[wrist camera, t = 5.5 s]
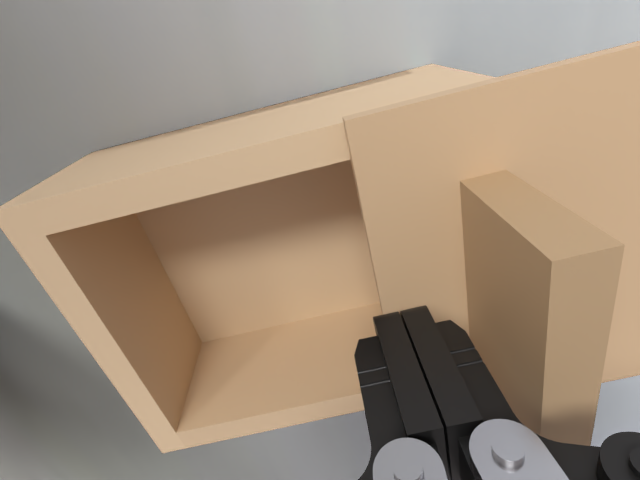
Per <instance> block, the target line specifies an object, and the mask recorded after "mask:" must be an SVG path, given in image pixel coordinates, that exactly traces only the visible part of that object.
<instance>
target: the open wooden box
mask: <svg viewBox="0 0 640 480" xmlns="http://www.w3.org/2000/svg"><path fill="white" fill-rule="evenodd" d="M492 78H496V77H492V76H487V75H482V74H477V73H473V72H468V71H463V70H459V69H454V68H449V67H444V66H440V65H435V64H429V65H425V66H421V67H418V68H414V69H410V70H406V71H402V72H398V73H394V74H391V75H387V76H383V77H379V78H375V79H371V80H368V81H364V82H360V83H356V84H352V85H348V86H344V87H341V88H337V89H333V90H329V91H325V92H321V93H318V94H314V95H310V96H306V97H302V98H298V99H295V100H291V101H287V102H283V103H279V104H275V105H271V106H268V107H264V108H260V109H256V110H252V111H248V112H245V113H241V114H237V115H233V116H229V117H225V118H222V119H218V120H214V121H210V122H206V123H202V124H198V125H195V126H191V127H187V128H183V129H179V130H175V131H172V132H168V133H164V134H160V135H156V136H152V137H148V138H145V139H141V140H137V141H133V142H129V143H125V144H122V145H118V146H114V147H110V148H106V149H102V150H99V151H95V152H91V153H90V154H88V155H86V156H85V157H83V158H81V159H79V160H78V161H76V162H74V163H73V164H71V165H69V166H68V167H66V168H64V169H63V170H61V171H59V172H57V173H56V174H54V175H52V176H51V177H49V178H47V179H46V180H44V181H42V182H40V183H39V184H37V185H35V186H34V187H32V188H30V189H29V190H27V191H25V192H24V193H22V194H20V195H18V196H17V197H15V198H13V199H12V200H10V201H8V202H7V203H5V204H3V205H2V206H0V228H1V229H2V231H3V232H4V233H5V235H6V236H7V238H8V239H9V240H10V242H11V243H12V244H13V246H14V247H15V249H16V250H17V251H18V253H19V254H20V256H21V257H22V258H23V260H24V261H25V263H26V264H27V265H28V267H29V268H30V270H31V271H32V272H33V274H34V275H35V277H36V278H37V279H38V281H39V282H40V283H41V285H42V286H43V288H44V289H45V290H46V292H47V293H48V295H49V296H50V297H51V299H52V300H53V302H54V303H55V304H56V306H57V307H58V309H59V310H60V311H61V313H62V314H63V315H64V317H65V318H66V320H67V321H68V322H69V324H70V325H71V327H72V328H73V329H74V331H75V332H76V334H77V335H78V336H79V338H80V339H81V341H82V342H83V343H84V345H85V346H86V347H87V349H88V350H89V352H90V353H91V354H92V356H93V357H94V359H95V360H96V361H97V363H98V364H99V366H100V367H101V368H102V370H103V371H104V373H105V374H106V375H107V377H108V378H109V380H110V381H111V382H112V384H113V385H114V386H115V388H116V389H117V391H118V392H119V393H120V395H121V396H122V398H123V399H124V400H125V402H126V403H127V405H128V406H129V407H130V409H131V410H132V412H133V413H134V414H135V416H136V417H137V418H138V420H139V421H140V423H141V424H142V425H143V427H144V428H145V430H146V431H147V432H148V434H149V435H150V437H151V438H152V439H153V441H154V442H155V444H156V445H157V446H158V448H159V449H160V450H161V452H162V453H166V452H171V451H176V450H180V449H185V448H190V447H194V446H199V445H204V444H209V443H213V442H218V441H223V440H227V439H232V438H237V437H241V436H246V435H251V434H255V433H260V432H265V431H269V430H274V429H279V428H283V427H288V426H293V425H297V424H302V423H307V422H312V421H316V420H321V419H326V418H330V417H335V416H340V415H344V414H349V413H354V412H358V411H363V410H365V409H364V404H363V399H362V394H361V388H360V383H359V378H358V373H357V368H356V363H355V358H354V354H355V350H356V347H357V344H358V340H359V339H364V338H368V337H373V336H376V332H375V327H374V322H373V317H374V316H379V315H382V312H381V307H380V302H379V297H378V292H377V287H376V282H375V277H374V272H373V267H372V262H371V258H370V253H369V248H368V243H367V238H366V233H365V228H364V223H363V218H362V213H361V208H360V203H359V198H358V193H357V188H356V183H355V178H354V173H353V168H352V163H351V158H350V153H349V149H348V144H347V139H346V134H345V129H344V124H343V119H342V117H344V116H348V115H352V114H355V113H359V112H363V111H367V110H371V109H375V108H379V107H383V106H387V105H391V104H395V103H398V102H402V101H406V100H410V99H414V98H418V97H422V96H426V95H430V94H434V93H438V92H441V91H445V90H449V89H453V88H457V87H461V86H465V85H469V84H473V83H477V82H480V81H484V80H488V79H492Z"/></svg>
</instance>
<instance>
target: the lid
mask: <svg viewBox="0 0 640 480" xmlns="http://www.w3.org/2000/svg"><path fill="white" fill-rule="evenodd" d="M342 119H343V124H344V129H345V134H346V139H347V144H348V149H349V153H350V158H351V163H352V168H353V173H354V178H355V183H356V188H357V193H358V198H359V203H360V208H361V213H362V218H363V223H364V228H365V233H366V238H367V243H368V248H369V253H370V258H371V262H372V267H373V272H374V277H375V282H376V287H377V292H378V297H379V302H380V307H381V312H382V315H383V314H388V313H393V312H397V311H398V312H399V314H400V311H401V310H406V309H410V308H415V307H419V306H424V305H426V306H427V307H428V309H429V311H430V313H431V315H432V317H433V319H434V321H435V323H437V322H441V321H446V320H451V321H453V322H454V323H456V324H457V325H458V326H460V327H461V328H462V329H464V330H465V331H466V333H467V334H468V336H469V338H470V339H471V341H472V343H473V344H474V346H475V349H476V350H477V351H478V353H479V355H480V356H481V358H482V361H483V363H485V365H486V367H487V368H488V370H489V372H490V373H491V375H492V377H493V379H494V380H495V382H496V384H497V385H498V387H499V389H500V390H501V392H502V394H503V396H504V397H505V399H506V401H507V402H508V404H509V406H510V407H511V409H512V411H513V413H514V414H515V415H516V417H517V418H518V419H519V420H520V422H521V423H522V424H524V425H525V426H526V427H527V428H529V429H530V430H531V431H533V432H534V433H536V434H538V435H540V436H542V437H544V438H547V439H549V440H553V441H556V442H561V443H568V444H577V445H585V446H590V445H591V439H592V433H593V427H594V422H595V416H596V410H597V404H598V398H599V393H600V387H601V383H604V382H608V381H613V380H618V379H623V378H627V377H632V376H637V375H640V41H637V42H633V43H629V44H625V45H621V46H617V47H613V48H609V49H605V50H602V51H598V52H594V53H590V54H586V55H582V56H578V57H574V58H570V59H566V60H563V61H559V62H555V63H551V64H547V65H543V66H539V67H535V68H531V69H527V70H523V71H520V72H516V73H512V74H508V75H504V76H500V77H496V78H492V79H488V80H484V81H480V82H477V83H473V84H469V85H465V86H461V87H457V88H453V89H449V90H445V91H441V92H438V93H434V94H430V95H426V96H422V97H418V98H414V99H410V100H406V101H402V102H398V103H395V104H391V105H387V106H383V107H379V108H375V109H371V110H367V111H363V112H359V113H355V114H352V115H348V116H344V117H342Z"/></svg>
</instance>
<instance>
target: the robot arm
mask: <svg viewBox="0 0 640 480" xmlns="http://www.w3.org/2000/svg"><path fill="white" fill-rule="evenodd" d="M373 322H374V327H375V332H376V336H373V337H368V338H364V339H359V340H358V344H357V347H356V350H355V354H354V358H355V363H356V368H357V373H358V378H359V383H360V388H361V394H362V399H363V404H364V409H365V414H366V419H367V424H368V430H369V435H370V440H371V447H372V448H371V457H370V461H369V464H368V466H367V468H366V470H365V472H364V473H363V475H362V476H361V477H360V478H359V479H358V480H640V433H637V432H620V433H616V434H613V435H611V436H609V437H608V438H607V439H605V440H604V442H603V443H602V445H601V447H594V446H585V445H577V444H568V443H561V442H556V441H553V440H549V439H547V438H544V437H542V436H540V435H538V434H536V433H534V432H533V431H531V430H530V429H529V428H527V427H526V426H525V425H524V424H522V423H521V422H520V420H519V419H518V418H517V417H516V415H515V414H514V413H513V411H512V409H511V407H510V406H509V404H508V402H507V401H506V399H505V397H504V396H503V394H502V392H501V390H500V389H499V387H498V385H497V384H496V382H495V380H494V379H493V377H492V375H491V373H490V372H489V370H488V368H487V367H486V365H485V363H483V361H482V358H481V356H480V355H479V353H478V351H477V350H476V349H475V346H474V344H473V343H472V341H471V339H470V338H469V336H468V334H467V333H466V331H465V330H464V329H462V328H461V327H460V326H458V325H457V324H456V323H454V322H453V321H451V320H446V321H441V322H437V323H435V321H434V319H433V317H432V315H431V313H430V311H429V309H428V307H427V306H426V305H424V306H419V307H415V308H410V309H406V310H401V311H400V314H399V312H398V311H397V312H393V313H388V314H383V315H379V316H374V317H373Z"/></svg>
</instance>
